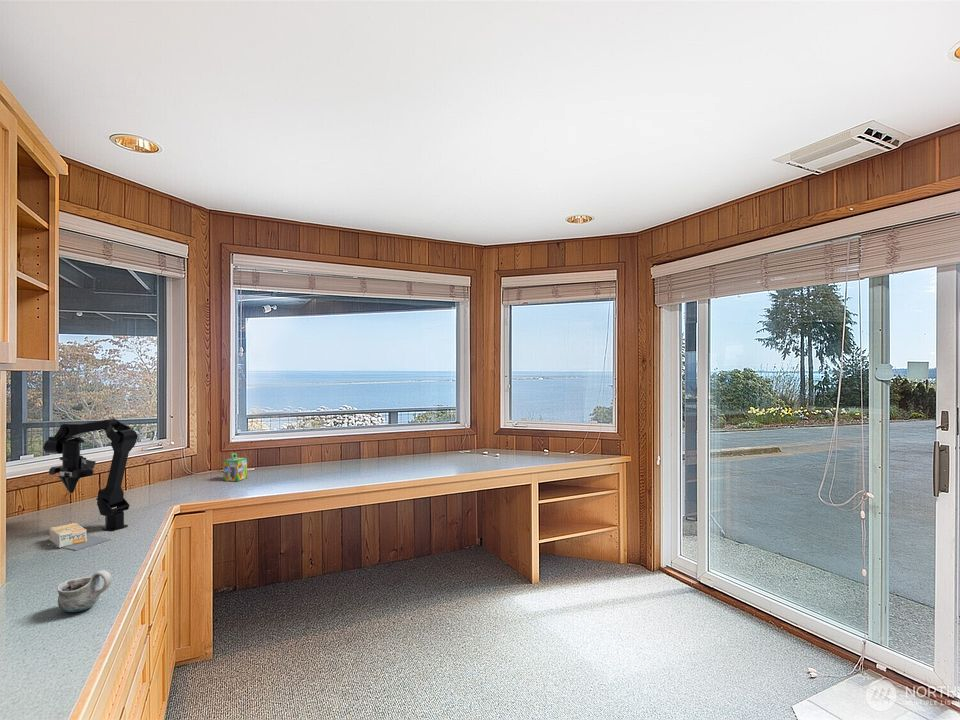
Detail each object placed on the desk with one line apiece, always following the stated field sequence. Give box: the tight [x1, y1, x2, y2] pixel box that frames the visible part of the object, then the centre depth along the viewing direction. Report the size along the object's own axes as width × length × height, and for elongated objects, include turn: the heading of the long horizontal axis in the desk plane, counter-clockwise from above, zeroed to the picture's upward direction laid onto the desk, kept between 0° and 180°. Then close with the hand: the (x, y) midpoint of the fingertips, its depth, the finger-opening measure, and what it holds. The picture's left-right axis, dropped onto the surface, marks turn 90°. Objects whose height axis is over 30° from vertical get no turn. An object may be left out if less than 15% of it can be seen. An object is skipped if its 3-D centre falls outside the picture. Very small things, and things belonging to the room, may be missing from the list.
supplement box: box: [49, 522, 87, 548], centre depth 198 cm, size 8×5×13 cm
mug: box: [56, 569, 112, 613], centre depth 145 cm, size 10×12×10 cm
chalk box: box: [222, 452, 248, 482], centre depth 299 cm, size 9×9×15 cm
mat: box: [48, 534, 112, 551], centre depth 198 cm, size 16×12×1 cm
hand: (71, 492), depth 218 cm, fingers closed
